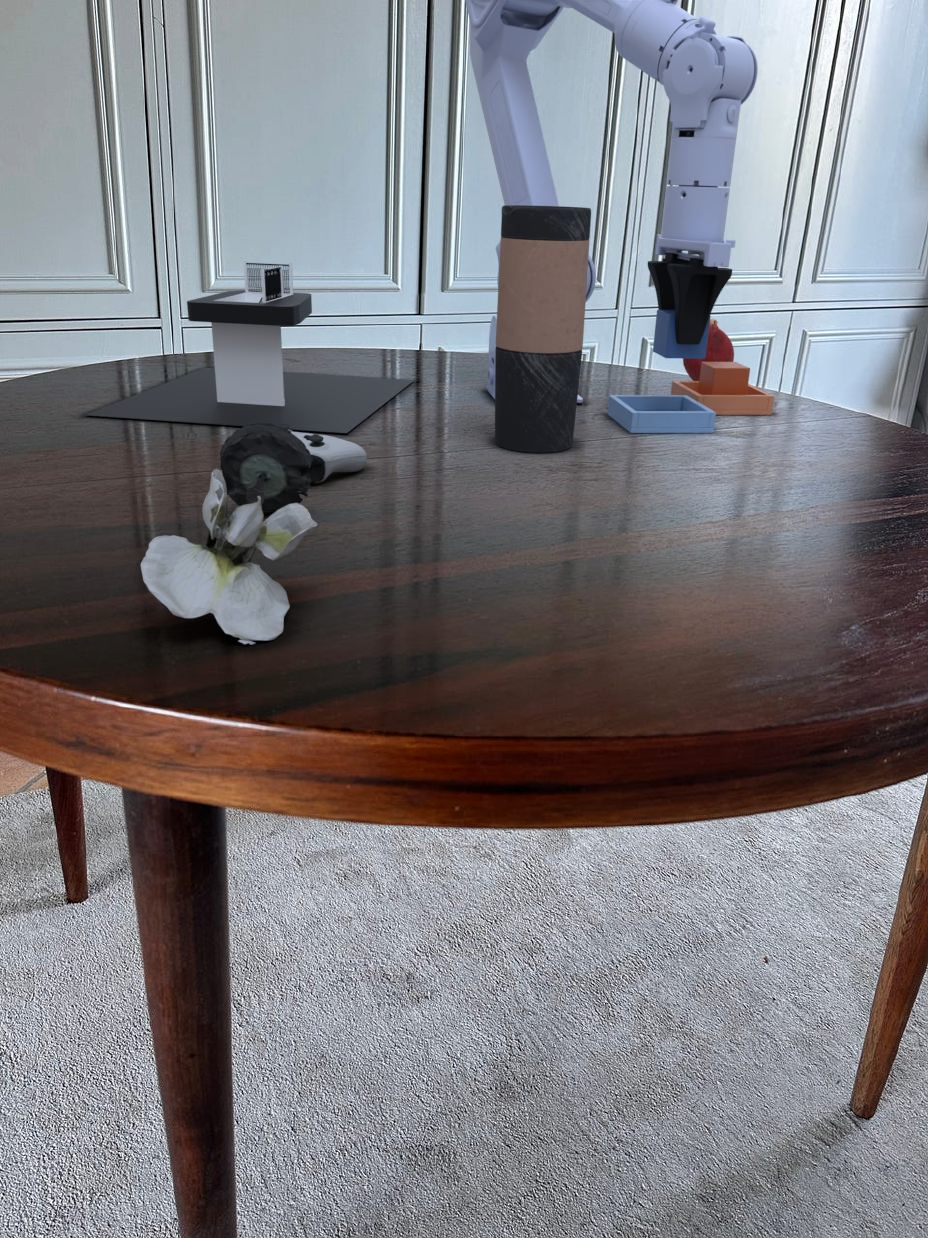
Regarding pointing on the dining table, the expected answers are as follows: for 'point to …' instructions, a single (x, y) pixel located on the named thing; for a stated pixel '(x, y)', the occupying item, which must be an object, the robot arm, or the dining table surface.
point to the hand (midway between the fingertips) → (680, 340)
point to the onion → (711, 351)
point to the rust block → (723, 378)
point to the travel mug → (540, 325)
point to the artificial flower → (239, 537)
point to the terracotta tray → (728, 400)
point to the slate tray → (661, 414)
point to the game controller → (330, 455)
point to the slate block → (667, 340)
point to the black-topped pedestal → (258, 369)
